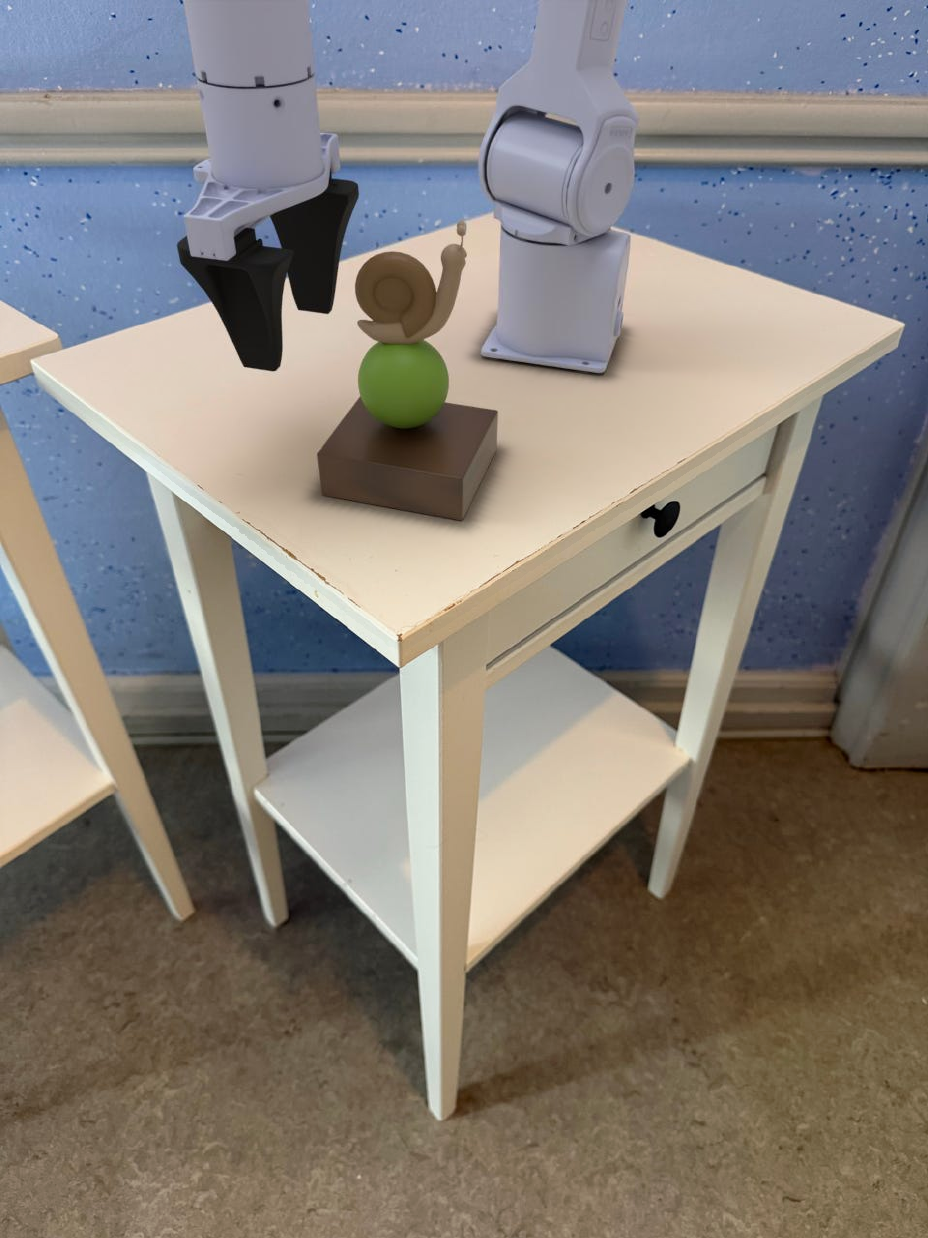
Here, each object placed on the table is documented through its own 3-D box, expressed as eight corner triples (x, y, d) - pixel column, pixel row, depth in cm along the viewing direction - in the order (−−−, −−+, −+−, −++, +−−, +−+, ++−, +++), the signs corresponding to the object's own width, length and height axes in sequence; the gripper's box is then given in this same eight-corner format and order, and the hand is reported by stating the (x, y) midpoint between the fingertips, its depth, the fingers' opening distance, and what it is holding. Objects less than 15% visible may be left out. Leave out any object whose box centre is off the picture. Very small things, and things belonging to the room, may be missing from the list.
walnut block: (496, 450, 59) (498, 409, 57) (462, 521, 54) (462, 478, 52) (367, 429, 61) (364, 389, 59) (321, 495, 56) (316, 453, 54)
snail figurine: (464, 446, 54) (466, 242, 46) (356, 444, 54) (339, 240, 46) (465, 400, 58) (467, 205, 50) (365, 399, 58) (351, 203, 50)
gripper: (247, 38, 50) (278, 280, 60) (100, 104, 40) (166, 384, 49) (367, 47, 49) (380, 293, 58) (247, 118, 39) (286, 404, 48)
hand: (289, 336), depth 54 cm, fingers open, 7 cm apart
